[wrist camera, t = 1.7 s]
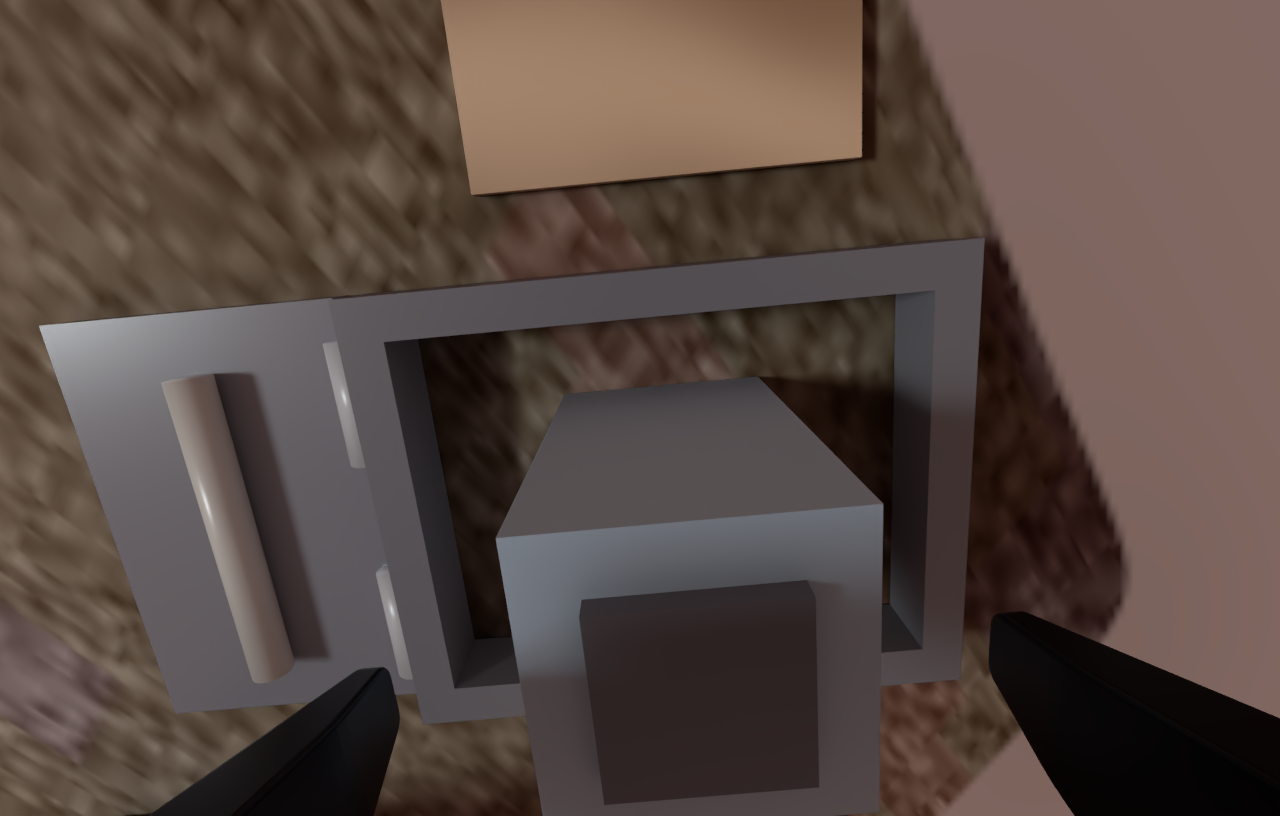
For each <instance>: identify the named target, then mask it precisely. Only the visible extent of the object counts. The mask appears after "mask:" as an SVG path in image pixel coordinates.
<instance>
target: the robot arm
mask: <svg viewBox="0 0 1280 816" xmlns="http://www.w3.org/2000/svg"><path fill="white" fill-rule="evenodd" d="M989 669H990V672H991V675H992V678H993V680H994V682H995V683H996V685H997V687H998V689H999V690H1000V692H1001V694H1002V696H1003V698H1004V699H1005V701H1006V703H1007V705H1008V706H1009V708H1010V710H1011V712H1012V714H1013V715H1014V717H1015V719H1016V721H1017V722H1018V724H1019V726H1020V728H1021V729H1022V731H1023V733H1024V735H1025V736H1026V738H1027V740H1028V742H1029V744H1030V745H1031V747H1032V749H1033V751H1034V752H1035V754H1036V756H1037V758H1038V760H1039V761H1040V763H1041V765H1042V766H1043V768H1044V770H1045V771H1046V773H1047V775H1048V776H1049V778H1050V780H1051V781H1052V783H1053V785H1054V786H1055V788H1056V789H1057V791H1058V792H1059V793H1060V795H1061V797H1062V798H1063V800H1064V801H1065V803H1066V804H1067V805H1068V807H1069V808H1070V809H1071V811H1072V813H1073V814H1074V816H1280V718H1278V717H1275V716H1273V715H1271V714H1268V713H1266V712H1263V711H1261V710H1258V709H1256V708H1254V707H1251V706H1249V705H1247V704H1244V703H1242V702H1239V701H1237V700H1235V699H1232V698H1230V697H1227V696H1225V695H1223V694H1220V693H1218V692H1215V691H1213V690H1211V689H1208V688H1206V687H1203V686H1201V685H1199V684H1196V683H1194V682H1192V681H1189V680H1187V679H1184V678H1182V677H1179V676H1177V675H1175V674H1173V673H1170V672H1168V671H1165V670H1163V669H1160V668H1158V667H1155V666H1153V665H1151V664H1149V663H1146V662H1144V661H1141V660H1139V659H1137V658H1134V657H1132V656H1129V655H1127V654H1125V653H1122V652H1120V651H1118V650H1115V649H1113V648H1110V647H1108V646H1106V645H1103V644H1101V643H1098V642H1096V641H1094V640H1091V639H1089V638H1086V637H1084V636H1082V635H1079V634H1077V633H1075V632H1072V631H1070V630H1067V629H1065V628H1063V627H1060V626H1058V625H1055V624H1053V623H1051V622H1048V621H1046V620H1043V619H1041V618H1039V617H1036V616H1034V615H1031V614H1029V613H1026V612H1021V611H1019V612H1008V613H998V614H996V615H995V616H994V617H993V619H992V621H991V630H990V645H989ZM399 721H400V715H399V709H398V704H397V700H396V696H395V691H394V687H393V683H392V679H391V675H390V672H389V671H388V669H386V668H384V667H374V668H363V669H358V670H356V671H355V672H353V673H352V674H350V675H349V676H347V677H346V678H345V679H343V680H342V681H340V682H339V683H337V684H336V685H335V686H333V687H332V688H330V689H329V690H327V691H326V692H325V693H323V694H322V695H320V696H319V697H317V698H316V699H315V700H313V701H312V702H310V703H309V704H307V705H306V706H305V707H303V708H302V709H300V710H299V711H297V712H296V713H295V714H293V715H292V716H290V717H289V718H287V719H286V720H285V721H283V722H282V723H280V724H279V725H277V726H276V727H275V728H273V729H272V730H270V731H269V732H267V733H266V734H265V735H263V736H262V737H260V738H259V739H257V740H256V741H255V742H253V743H252V744H250V745H249V746H247V747H246V748H245V749H243V750H242V751H240V752H239V753H237V754H236V755H235V756H233V757H232V758H230V759H229V760H227V761H226V762H225V763H223V764H222V765H220V766H219V767H217V768H216V769H215V770H213V771H212V772H210V773H209V774H207V775H206V776H205V777H203V778H202V779H200V780H199V781H197V782H196V783H195V784H193V785H192V786H190V787H189V788H187V789H186V790H185V791H183V792H182V793H180V794H179V795H177V796H176V797H175V798H173V799H172V800H170V801H169V802H167V803H166V804H165V805H163V806H162V807H160V808H159V809H157V810H156V811H155V812H153V813H152V814H150V815H149V816H374V812H375V809H376V805H377V802H378V799H379V795H380V792H381V788H382V785H383V781H384V778H385V774H386V771H387V767H388V764H389V760H390V757H391V754H392V750H393V747H394V743H395V740H396V736H397V733H398V729H399Z"/></svg>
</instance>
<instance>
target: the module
mask: <svg viewBox="0 0 1280 816" xmlns="http://www.w3.org/2000/svg"><path fill="white" fill-rule="evenodd" d="M496 543H497V549H498V555H499V561H500V567H501V573H502V579H503V585H504V591H505V597H506V602H507V608H508V614H509V620H510V626H511V632H512V638H513V644H514V650H515V656H516V661H517V667H518V673H519V679H520V685H521V691H522V697H523V703H524V709H525V715H526V720H527V726H528V732H529V738H530V744H531V750H532V756H533V762H534V768H535V773H536V779H537V785H538V791H539V797H540V803H541V809H542V815H543V816H837V815H849V814H861V813H874V812H879V779H880V707H881V636H882V565H883V503H882V502H881V501H880V500H879V499H878V498H877V497H876V496H875V495H874V494H873V493H872V492H871V491H870V490H869V489H868V488H867V487H866V486H865V485H864V484H863V483H862V482H861V481H860V480H859V479H858V478H857V477H856V476H855V475H854V474H853V473H852V472H851V471H850V470H849V469H848V468H847V466H846V465H845V464H844V463H843V462H842V461H841V460H840V459H839V458H838V457H837V456H836V455H835V454H834V453H833V452H832V451H831V450H830V449H829V448H828V447H827V446H826V445H825V444H824V443H823V442H822V441H821V440H820V439H819V438H818V437H817V436H816V435H815V434H814V433H813V432H812V431H811V430H810V429H809V428H808V427H807V426H806V425H805V424H804V423H803V422H802V421H801V420H800V419H799V418H798V417H797V416H796V415H795V414H794V413H793V412H792V411H791V410H790V409H789V408H788V407H787V406H786V405H785V404H784V403H783V402H782V401H781V400H780V399H779V398H778V397H777V396H776V395H775V394H774V393H773V392H772V391H771V390H770V389H769V387H768V386H767V385H766V384H765V383H764V382H763V381H762V380H761V379H760V378H759V377H758V376H757V377H747V378H736V379H725V380H714V381H703V382H692V383H681V384H670V385H659V386H649V387H638V388H627V389H616V390H605V391H594V392H583V393H572V394H565V395H564V397H563V399H562V402H561V404H560V406H559V408H558V410H557V412H556V414H555V416H554V418H553V420H552V422H551V424H550V426H549V429H548V431H547V433H546V435H545V437H544V439H543V441H542V443H541V445H540V447H539V449H538V451H537V453H536V455H535V458H534V460H533V462H532V464H531V466H530V468H529V470H528V472H527V474H526V476H525V478H524V480H523V482H522V485H521V487H520V489H519V491H518V493H517V495H516V497H515V499H514V501H513V503H512V505H511V507H510V509H509V511H508V514H507V516H506V518H505V520H504V522H503V524H502V526H501V528H500V530H499V532H498V534H497V536H496Z"/></svg>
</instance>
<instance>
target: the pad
mask: <svg viewBox="0 0 1280 816" xmlns="http://www.w3.org/2000/svg"><path fill="white" fill-rule="evenodd" d="M441 4H442V10H443V17H444V23H445V29H446V36H447V42H448V49H449V55H450V61H451V68H452V74H453V81H454V87H455V93H456V100H457V106H458V113H459V119H460V125H461V132H462V138H463V145H464V151H465V157H466V164H467V170H468V177H469V183H470V189H471V195H473V196H485V195H496V194H506V193H516V192H527V191H537V190H547V189H557V188H568V187H578V186H588V185H599V184H609V183H619V182H629V181H640V180H650V179H660V178H671V177H681V176H691V175H702V174H712V173H722V172H732V171H743V170H753V169H763V168H774V167H784V166H794V165H804V164H815V163H825V162H835V161H846V160H856V159H858V158H860V157H862V0H441Z"/></svg>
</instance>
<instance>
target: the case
mask: <svg viewBox="0 0 1280 816" xmlns="http://www.w3.org/2000/svg"><path fill="white" fill-rule="evenodd" d="M984 242H985V238H965V239H938V240H927V241H917V242H906V243H896V244H885V245H875V246H864V247H854V248H843V249H832V250H822V251H811V252H801V253H790V254H780V255H769V256H759V257H748V258H738V259H727V260H717V261H706V262H696V263H685V264H675V265H664V266H653V267H643V268H632V269H622V270H611V271H601V272H590V273H580V274H569V275H559V276H548V277H538V278H527V279H517V280H506V281H495V282H485V283H474V284H464V285H453V286H443V287H432V288H422V289H411V290H401V291H390V292H380V293H369V294H363V295H356V296H350V297H349V296H338V297H327V298H316V299H306V300H295V301H285V302H274V303H264V304H253V305H243V306H232V307H222V308H211V309H201V310H190V311H180V312H169V313H159V314H148V315H137V316H127V317H116V318H106V319H95V320H85V321H74V322H65V323H57V324H50V325H42V326H39V328H40V330H41V333H42V336H43V339H44V342H45V345H46V347H47V350H48V353H49V356H50V359H51V362H52V364H53V367H54V370H55V373H56V376H57V379H58V382H59V384H60V387H61V390H62V393H63V396H64V399H65V401H66V404H67V407H68V410H69V413H70V416H71V418H72V421H73V424H74V427H75V430H76V433H77V435H78V438H79V441H80V444H81V447H82V450H83V453H84V455H85V458H86V461H87V464H88V467H89V470H90V472H91V475H92V478H93V481H94V484H95V487H96V489H97V492H98V495H99V498H100V501H101V504H102V506H103V509H104V512H105V515H106V518H107V521H108V524H109V526H110V529H111V532H112V535H113V538H114V541H115V543H116V546H117V549H118V552H119V555H120V558H121V560H122V563H123V566H124V569H125V572H126V575H127V577H128V580H129V583H130V586H131V589H132V592H133V595H134V597H135V600H136V603H137V606H138V609H139V612H140V614H141V617H142V620H143V623H144V626H145V629H146V631H147V634H148V637H149V640H150V643H151V646H152V648H153V651H154V654H155V657H156V660H157V663H158V666H159V668H160V671H161V674H162V677H163V680H164V683H165V685H166V688H167V691H168V694H169V697H170V700H171V702H172V705H173V708H174V711H175V714H176V713H188V712H200V711H212V710H224V709H235V708H247V707H259V706H271V705H283V704H294V703H306V702H312V701H313V700H315V699H316V698H317V697H319V696H320V695H322V694H323V693H325V692H326V691H327V690H329V689H330V688H332V687H333V686H335V685H336V684H337V683H339V682H340V681H342V680H343V679H345V678H346V677H347V676H349V675H350V674H352V673H353V672H355V671H356V670H358V669H363V668H374V667H384V668H386V669H388V671H389V672H390V675H391V679H392V683H393V687H394V691H395V695H401V694H413V693H416V694H417V699H418V703H419V708H420V712H421V717H422V721H423V724H433V723H445V722H457V721H468V720H480V719H492V718H504V717H516V716H526V715H525V709H524V703H523V697H522V691H521V685H520V679H519V673H518V667H517V661H516V656H515V650H514V644H513V638H512V636H511V637H500V638H488V639H476V640H475V638H474V633H473V628H472V622H471V617H470V612H469V607H468V601H467V596H466V591H465V585H464V580H463V575H462V570H461V564H460V559H459V554H458V548H457V543H456V538H455V533H454V527H453V522H452V517H451V511H450V506H449V501H448V496H447V490H446V485H445V480H444V474H443V469H442V464H441V459H440V453H439V448H438V443H437V437H436V432H435V427H434V422H433V416H432V411H431V406H430V400H429V395H428V390H427V385H426V379H425V374H424V369H423V363H422V358H421V353H420V348H419V342H418V339H422V338H432V337H443V336H454V335H464V334H475V333H486V332H496V331H507V330H518V329H528V328H539V327H550V326H560V325H571V324H582V323H592V322H603V321H614V320H624V319H635V318H646V317H656V316H667V315H678V314H689V313H699V312H710V311H721V310H731V309H742V308H753V307H763V306H774V305H785V304H795V303H806V302H817V301H827V300H838V299H849V298H859V297H870V296H881V295H891V294H896V303H895V357H894V412H893V466H892V521H891V575H890V604H884V605H882V636H881V686H886V685H898V684H910V683H922V682H934V681H946V680H958V679H960V678H961V660H962V641H963V623H964V605H965V587H966V569H967V550H968V532H969V514H970V496H971V478H972V460H973V441H974V423H975V405H976V387H977V369H978V351H979V332H980V314H981V296H982V278H983V260H984Z"/></svg>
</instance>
